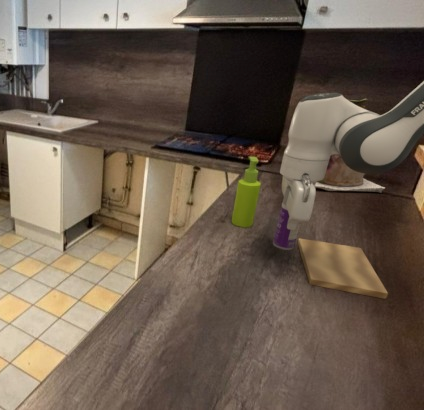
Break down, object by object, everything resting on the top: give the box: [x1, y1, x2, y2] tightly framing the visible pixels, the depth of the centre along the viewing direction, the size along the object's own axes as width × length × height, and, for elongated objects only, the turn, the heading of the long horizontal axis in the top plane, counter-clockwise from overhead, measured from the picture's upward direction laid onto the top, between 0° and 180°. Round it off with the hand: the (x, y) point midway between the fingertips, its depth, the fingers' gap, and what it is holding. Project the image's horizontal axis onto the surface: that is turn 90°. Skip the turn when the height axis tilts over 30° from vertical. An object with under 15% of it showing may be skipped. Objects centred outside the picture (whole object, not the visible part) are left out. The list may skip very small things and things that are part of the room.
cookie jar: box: [314, 98, 386, 194], centre depth 134 cm, size 25×25×32 cm
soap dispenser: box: [230, 156, 262, 228], centre depth 104 cm, size 6×7×20 cm
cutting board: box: [297, 237, 389, 300], centre depth 85 cm, size 14×20×2 cm
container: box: [272, 185, 304, 251], centre depth 85 cm, size 5×5×15 cm
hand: (289, 223), depth 86 cm, fingers closed on container, 4 cm apart
